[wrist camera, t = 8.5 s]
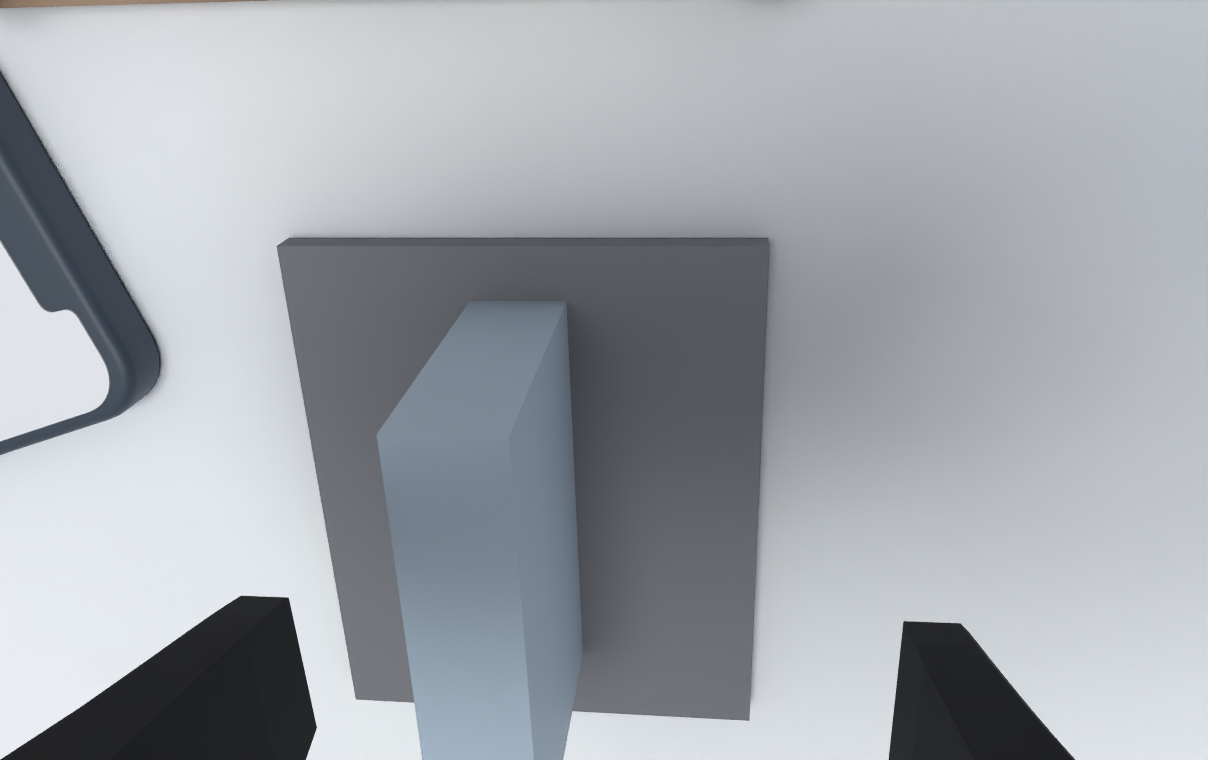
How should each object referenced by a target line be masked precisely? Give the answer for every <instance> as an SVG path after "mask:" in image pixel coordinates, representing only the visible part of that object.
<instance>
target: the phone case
mask: <svg viewBox="0 0 1208 760" xmlns="http://www.w3.org/2000/svg"><path fill="white" fill-rule="evenodd" d="M158 372H159V355H158V351H157V348H156V344H155V342H154V340H153V338H152V336H151V334H150V332H149V330H148V328H147V327H146V325H145V323H144V321H143V320H142V318H141V316H140V315H139V313H138V311H137V309H136V308H135V306H134V304H133V302H132V301H131V299H130V297H129V295H128V294H127V292H126V290H125V289H124V287H123V285H122V283H121V282H120V280H119V278H118V276H117V275H116V273H115V271H114V269H113V268H112V266H111V264H110V262H109V261H108V259H107V257H106V256H105V254H104V252H103V250H102V249H101V247H100V245H99V243H98V242H97V240H96V238H95V236H94V235H93V233H92V231H91V230H90V228H89V226H88V224H87V223H86V221H85V219H84V217H83V216H82V214H81V212H80V210H79V209H78V207H77V205H76V204H75V202H74V200H73V198H72V197H71V195H70V193H69V191H68V190H67V188H66V186H65V184H64V183H63V181H62V179H61V178H60V176H59V174H58V172H57V171H56V169H55V167H54V165H53V164H52V162H51V160H50V158H49V157H48V155H47V153H46V152H45V150H44V148H43V146H42V145H41V143H40V141H39V139H38V138H37V136H36V134H35V132H34V131H33V129H32V127H31V126H30V124H29V122H28V120H27V119H26V117H25V115H24V113H23V112H22V110H21V108H20V106H19V105H18V103H17V101H16V100H15V98H14V96H13V94H12V93H11V91H10V89H9V87H8V86H7V84H6V82H5V80H4V79H3V77H2V75H1V74H0V455H1V454H4V453H7V452H11V451H14V450H17V449H20V448H23V447H26V446H29V445H32V444H35V443H38V442H41V441H44V440H47V439H50V438H53V437H56V436H60V435H63V434H66V433H69V432H72V431H75V430H78V429H81V428H84V427H87V426H90V425H93V424H96V423H99V422H102V421H106V420H109V419H111V418H114V417H116V416H118V415H120V414H122V413H123V412H124V411H126V410H127V409H128V408H130V407H131V406H132V405H134V404H135V403H136V402H138V401H139V400H140V399H142V398H143V397H144V396H145V395H147V394H148V392H149V391H150V390H151V388H152V387H153V386H154V384H155V382H156V379H157V377H158Z"/></svg>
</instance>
